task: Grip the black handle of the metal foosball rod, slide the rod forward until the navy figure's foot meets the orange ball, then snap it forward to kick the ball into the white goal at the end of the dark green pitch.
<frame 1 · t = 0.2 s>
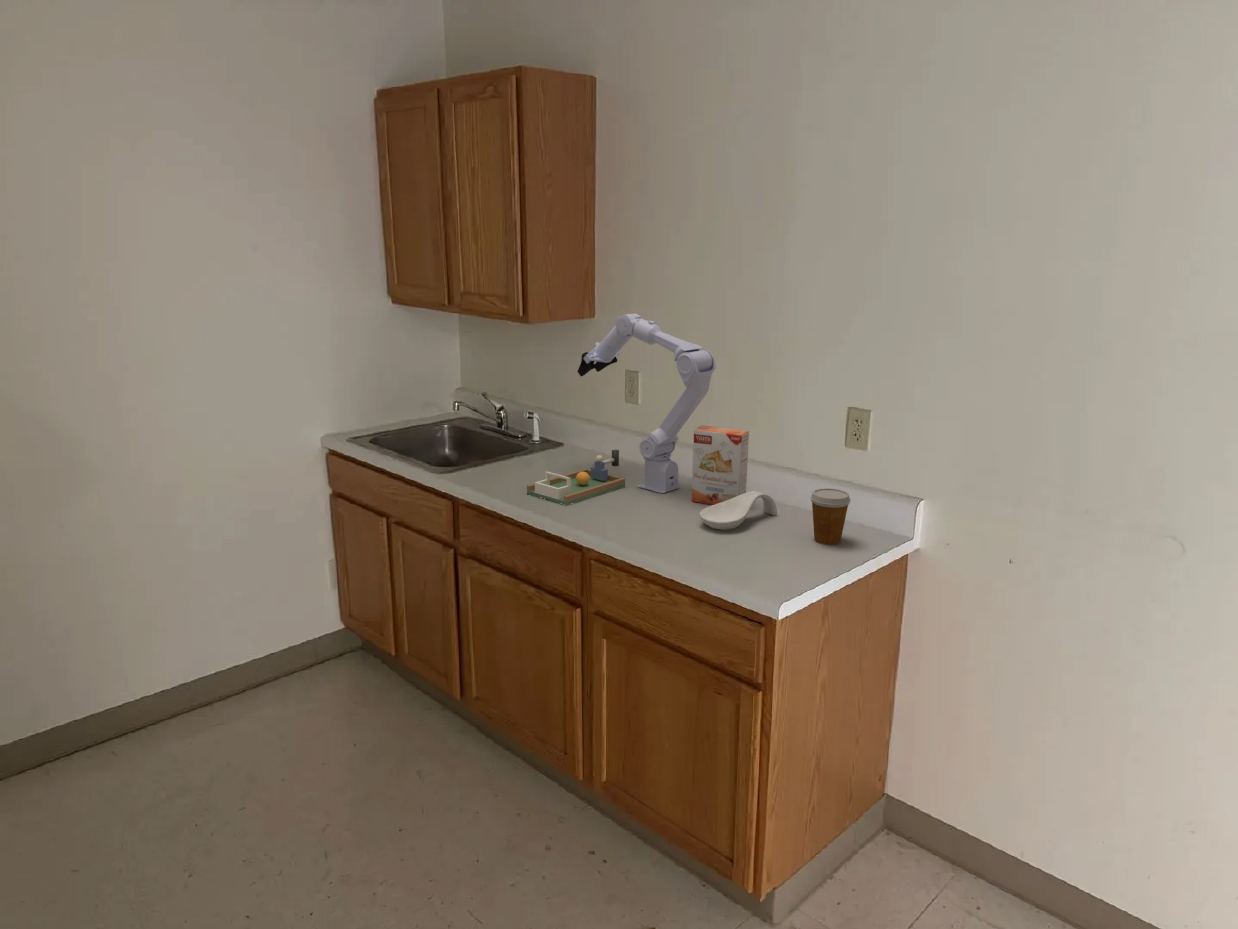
hand: (588, 371, 270), 31 cm above the counter, tool tilted 45°, fingers open, 7 cm apart
striker: (607, 464, 266), point 5 cm above the counter, slide at 0.0 cm
spoon rest: (738, 523, 232), on the counter
ball: (582, 478, 259), point 3 cm above the counter, touching pitch
pitch: (576, 490, 258), on the counter
disposable coffee cup: (827, 541, 219), on the counter
cracker box: (718, 503, 247), on the counter
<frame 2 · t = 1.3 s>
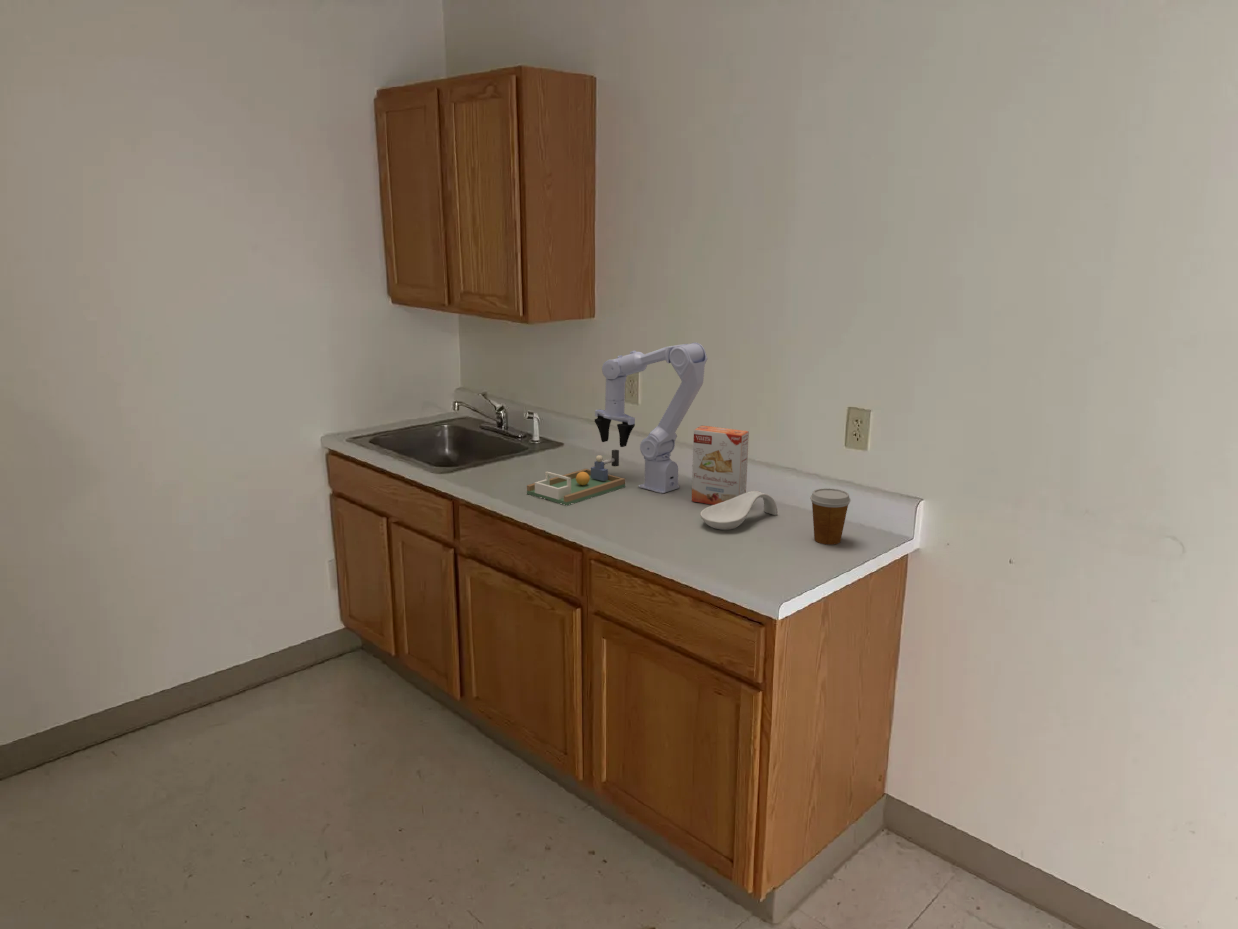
hand: (613, 443, 267), 11 cm above the counter, tool pointing down, fingers open, 7 cm apart
nothing on the counter moved.
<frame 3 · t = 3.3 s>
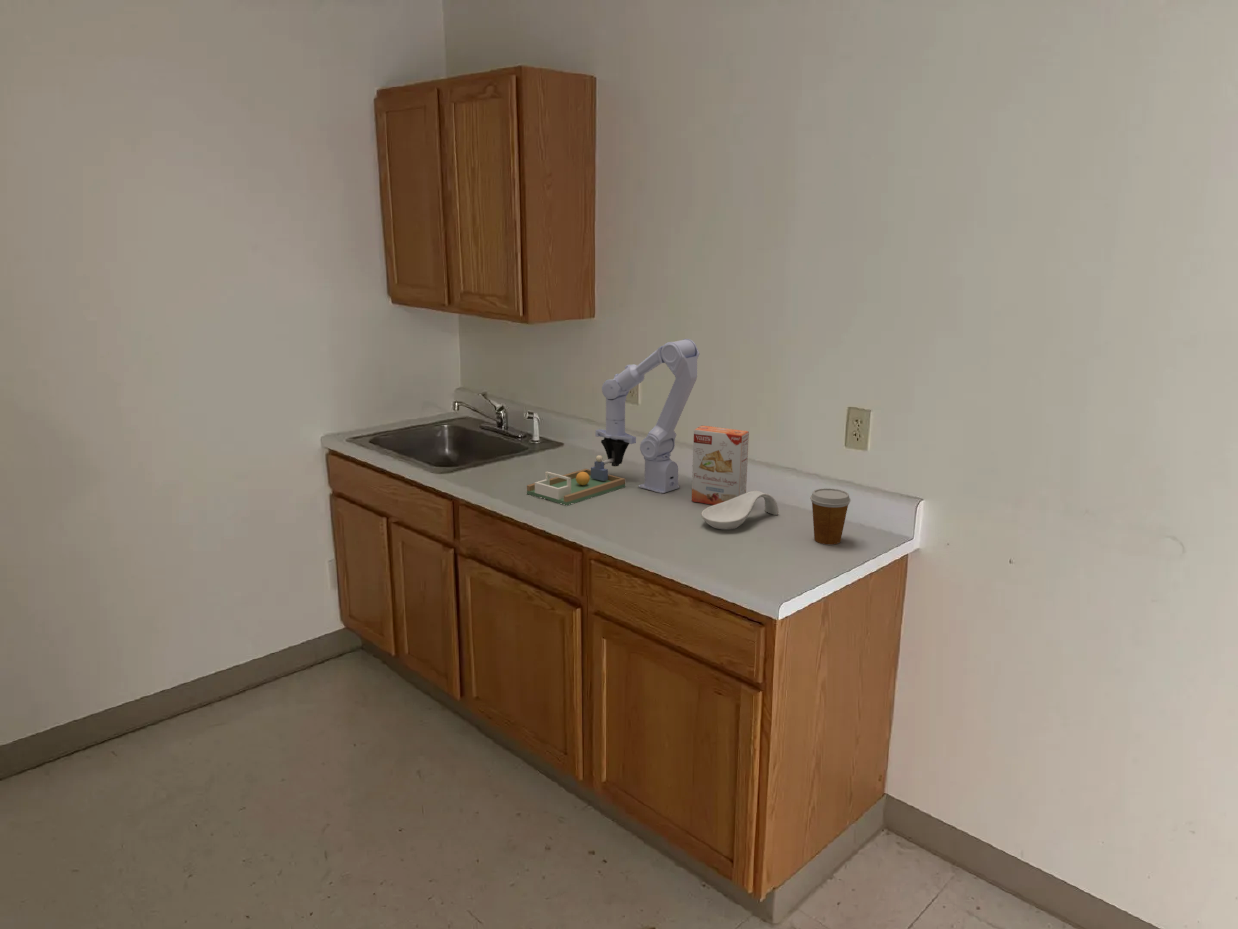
hand: (615, 463, 268), 5 cm above the counter, tool pointing down, fingers closed on striker, 2 cm apart
striker: (607, 464, 266), point 5 cm above the counter, slide at 0.0 cm, touching gripper
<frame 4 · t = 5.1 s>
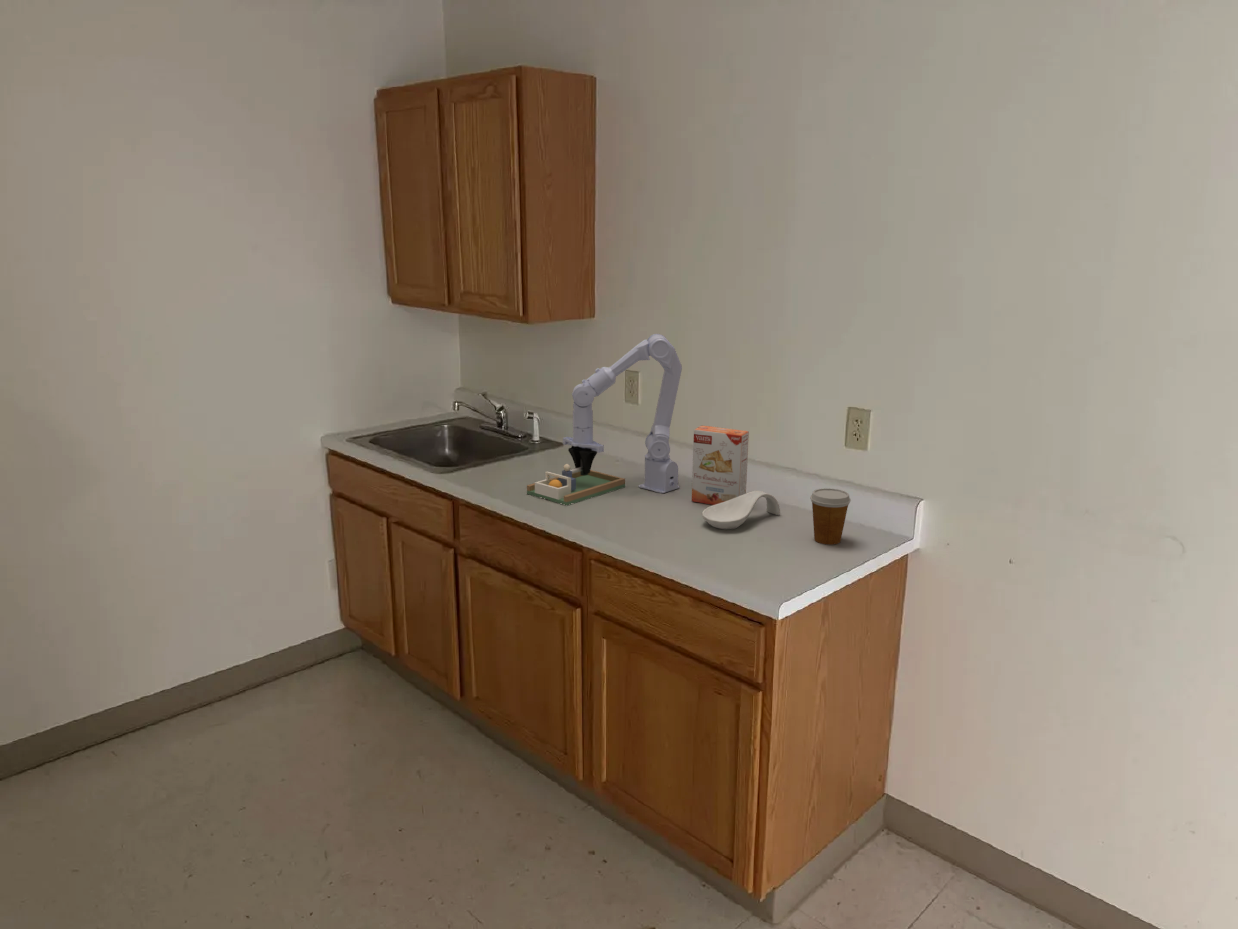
hand: (583, 472, 258), 5 cm above the counter, tool pointing down, fingers closed on striker, 2 cm apart
striker: (575, 473, 256), point 5 cm above the counter, slide at 13.4 cm, touching gripper
ball: (555, 486, 251), point 3 cm above the counter, tilted 46°, touching pitch
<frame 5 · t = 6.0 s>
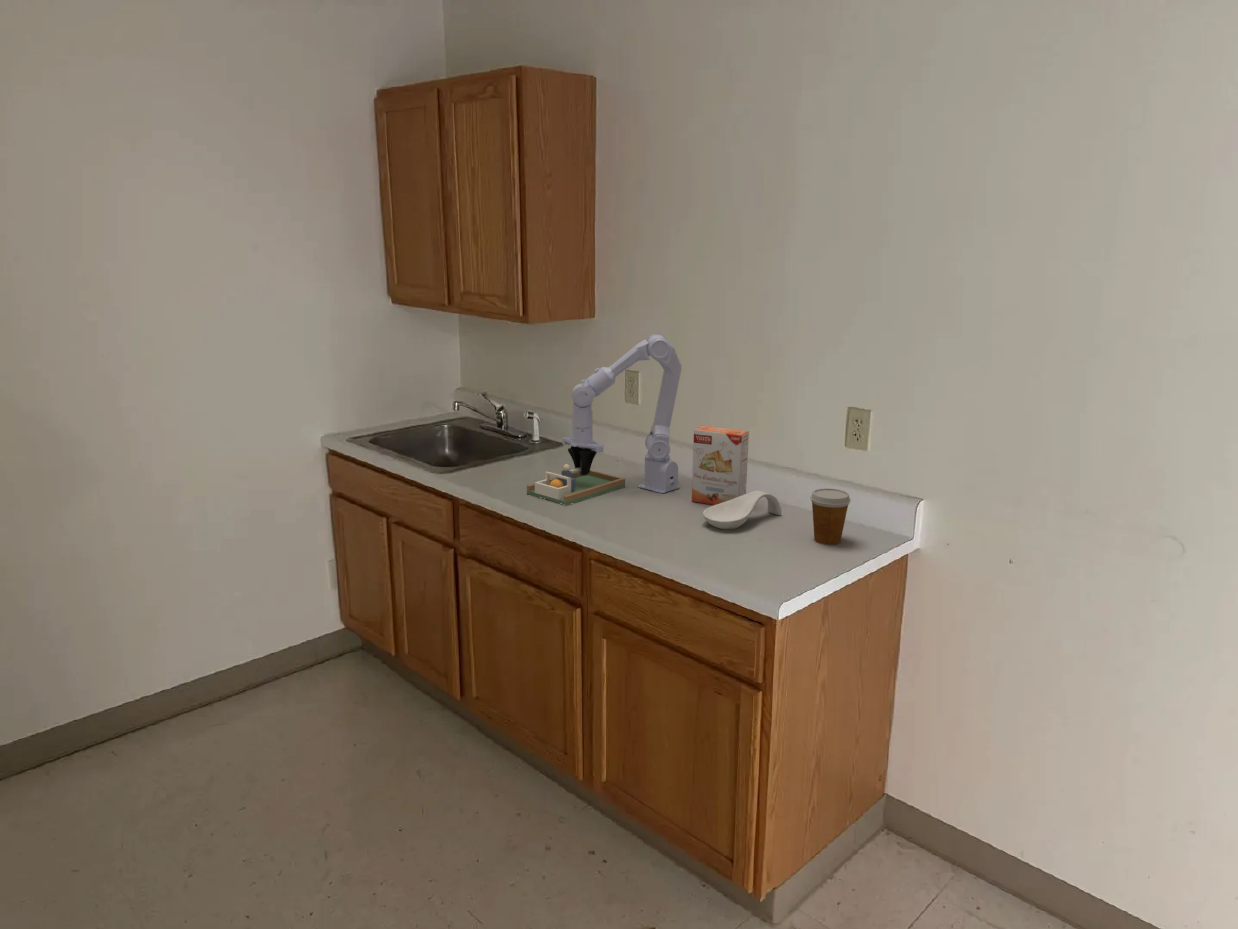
hand: (582, 472, 258), 5 cm above the counter, tool pointing down, fingers closed on striker, 2 cm apart
striker: (575, 473, 256), point 5 cm above the counter, slide at 13.6 cm, touching gripper
ball: (556, 486, 251), point 3 cm above the counter, tilted 58°, touching pitch
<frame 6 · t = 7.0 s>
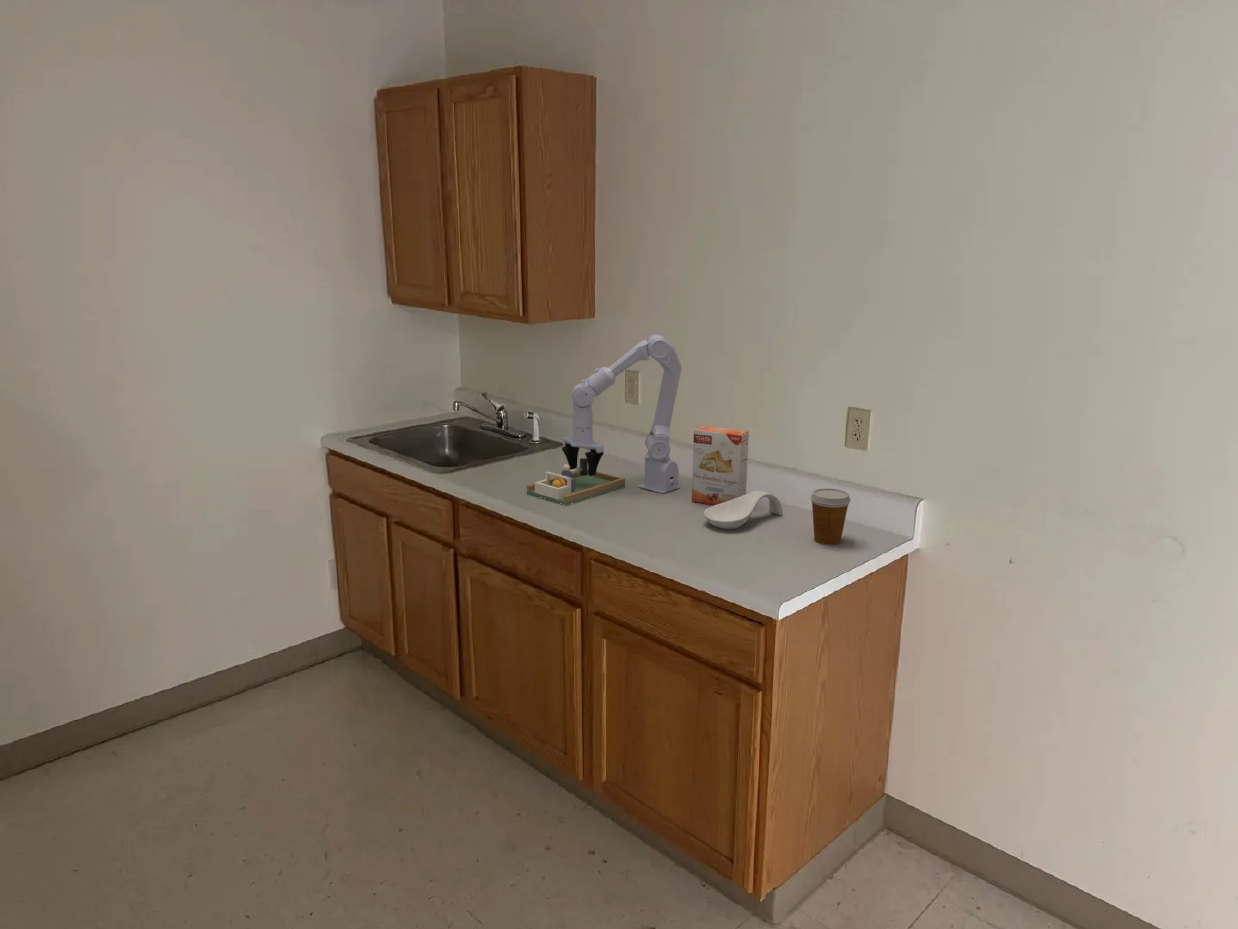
hand: (582, 472, 258), 5 cm above the counter, tool pointing down, fingers open, 7 cm apart
striker: (575, 473, 256), point 5 cm above the counter, slide at 13.6 cm
ball: (559, 485, 252), point 3 cm above the counter, tilted 88°, touching pitch
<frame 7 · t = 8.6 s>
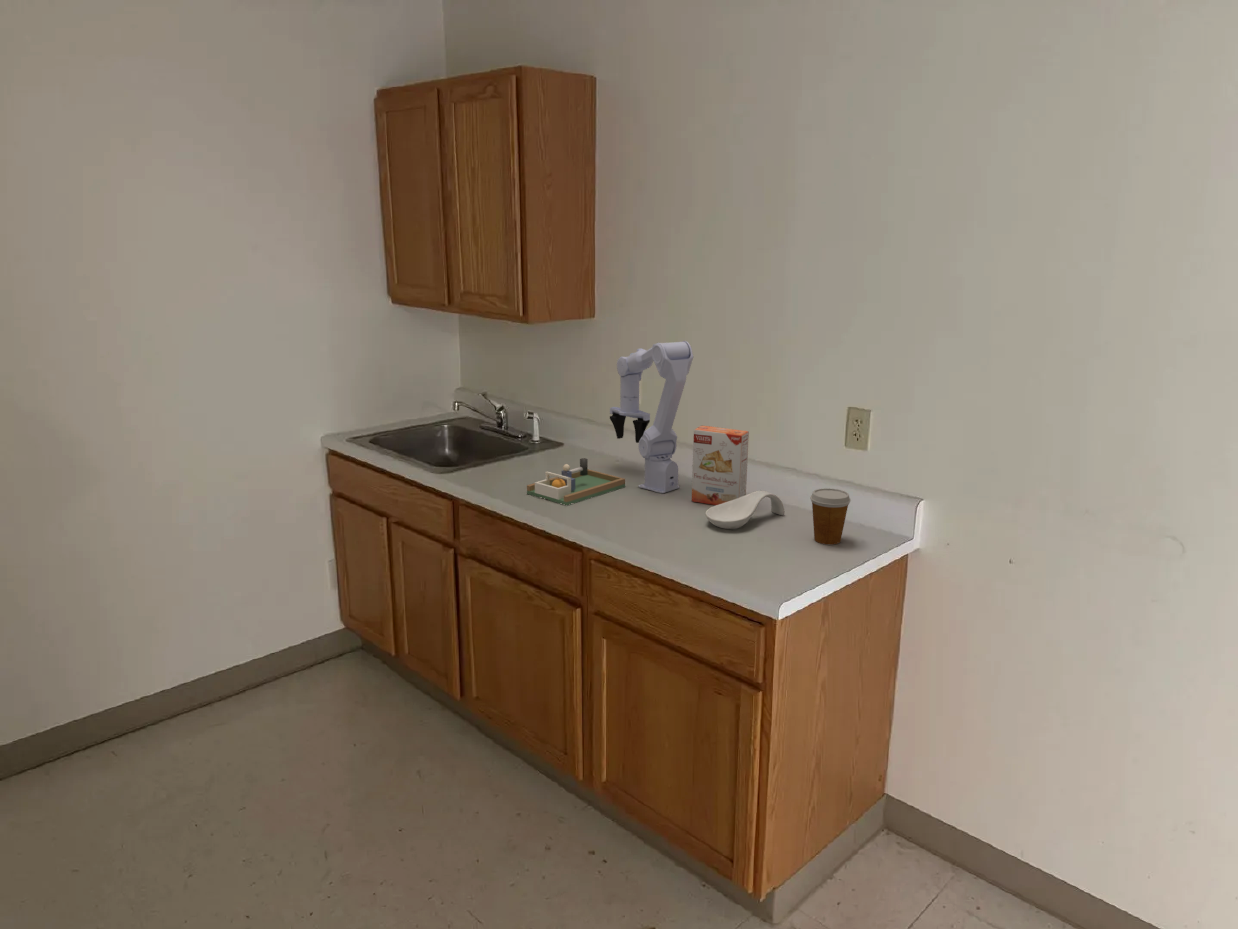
hand: (629, 440, 273), 10 cm above the counter, tool pointing down, fingers open, 7 cm apart
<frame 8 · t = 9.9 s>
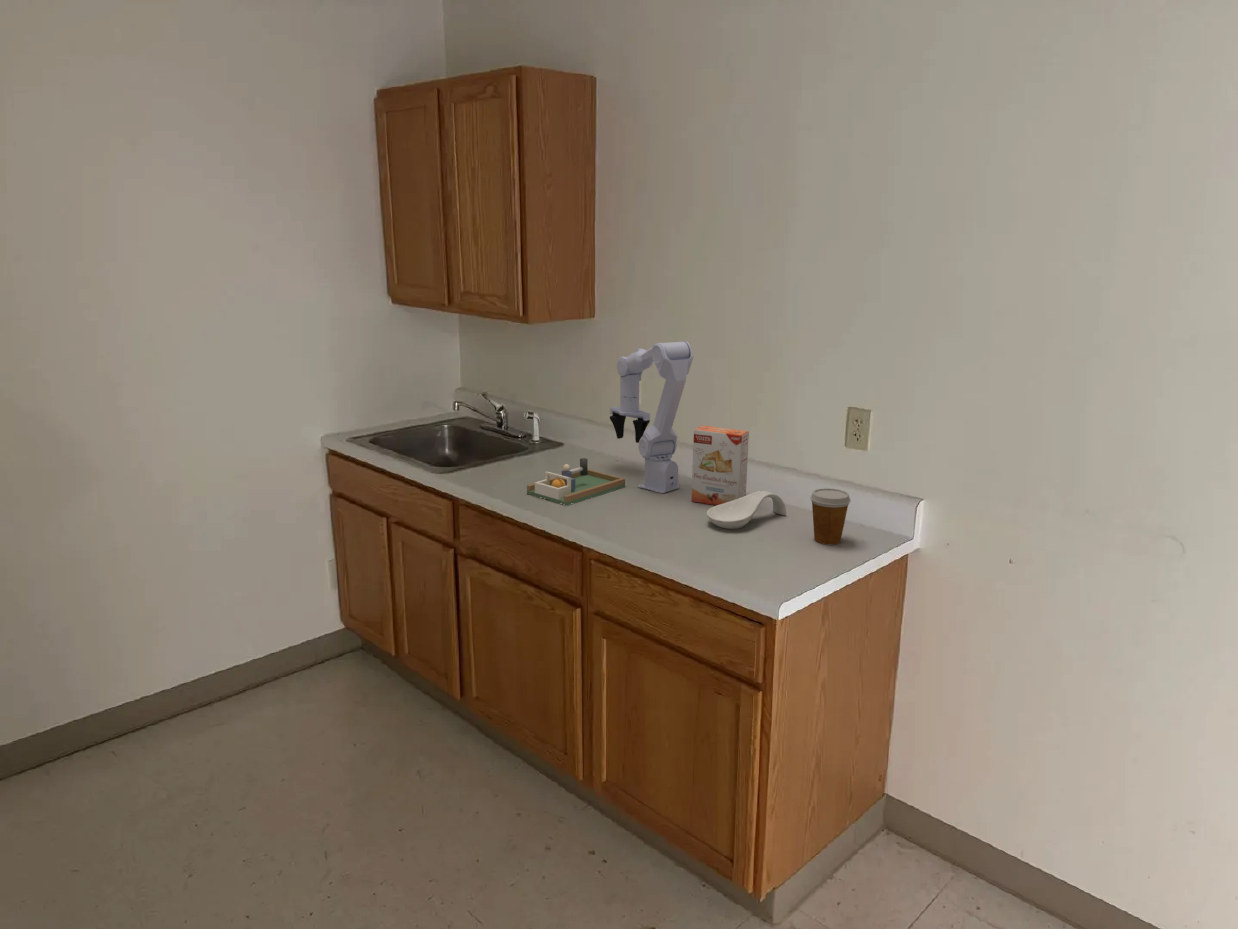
hand: (629, 440, 273), 10 cm above the counter, tool pointing down, fingers open, 7 cm apart
at the end: ball 2.0 cm from the target spot on the pitch, point 3.0 cm above the pitch's base; striker slide at 13.6 cm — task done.
